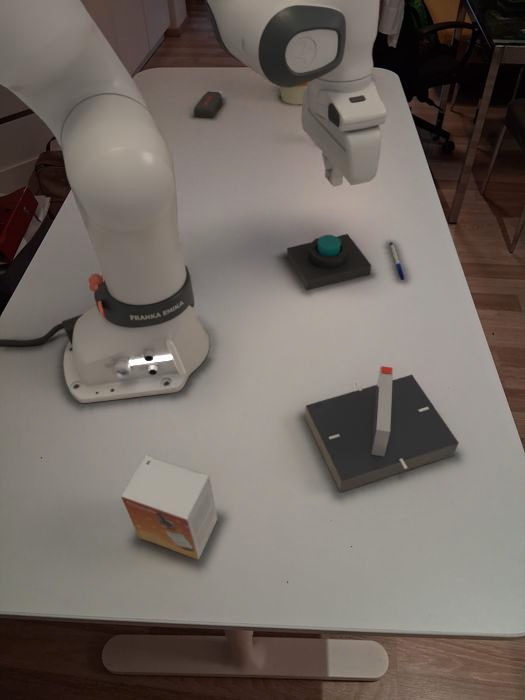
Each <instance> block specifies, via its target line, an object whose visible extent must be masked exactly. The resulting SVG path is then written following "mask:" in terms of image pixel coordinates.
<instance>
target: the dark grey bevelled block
mask: <svg viewBox="0 0 525 700" xmlns="http://www.w3.org/2000/svg"><path fill="white" fill-rule="evenodd" d="M222 105H223V91H219V90H210V91H209V90H208V91H207V92H205V94H203V95H202V97H201V98H200V99H199V100H198V102H197V104H196V105H194V108H193V116H194V117H195V118H208V119H209V118H210V119H214V118H215V116H216V115H217V114H218V112H219V110H220V109H221V107H222Z"/></svg>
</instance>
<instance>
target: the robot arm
mask: <svg viewBox="0 0 525 700" xmlns="http://www.w3.org/2000/svg"><path fill="white" fill-rule="evenodd" d="M203 1H204V4H205V7H206V9H207V12H208V17H209V20H210V24H211V29H212V32H213V34H214V37H215V40H216V42H217V43H218V46H219V47H220V48H221V50H222V51H223V52H224V53H225V54H226V55H228V56H229V58H232V59H234V60H236V61H238V62H239V63H242V64H244V65H245V66H247V68H249V69H250V70H252V72H254V73H256V74H257V75H259V76H260V77H262V78H263V79H265V80H266V81H268V82H269V83H271V84H272V85H275V86H277V87H279V88H280V87H285V88H290V87H296V86H299V85H302V84H304V83H307V86H306V87H305V89H304V93H303V101H302V104H301V117H300V118H301V120H300V121H301V126H302V129H303V131H304V132H305V133H306V135H307V136H308V137H309V138H310V139H311V141H312V142H313V143H314V144H315V145H316V146H317V148H318V149H319V150H320V151H321V157H322V162H323V165H324V177H325V178H326V180H327V181H328V182H329V183H330V185H331V186H332V187H339V186H341V185H343V182H344V179H345V180H346V181H347V182H348V183H349V185H351V186H356V185H361V184H365V183H370V182H372V181H373V180H374V178H375V177H376V176H377V173H378V169H379V163H380V155H381V149H382V148H381V147H382V130H381V127H380V126H381V125H383V124H385V123H386V120H387V108H386V105H385V104H384V103H383V100H382V99H381V97H380V95H379V93H378V90H377V87H376V82H375V81H374V80H373V76H374V60H373V50H372V48H374V43H375V41H376V38H377V35H378V27H379V19H380V18H379V17H380V16H379V15H380V1H381V0H203ZM0 85H1V86H2V87H4V88H7V89H8V90H9V91H10V92H11V93H13V95H15V96H16V97H17V98H18V99H19V100H21V102H23V103H24V104H25V105H26V106H27V107H28V108H29V109H30V110H31V111H32V112H33V113H35V114H36V115H37V116H38V117H39V119H41V120H42V121H43V123H44V124H45V125H46V127H48V129H49V130H50V131H51V133H52V134H53V136H54V137H55V139H56V142H57V143H58V146H59V147H60V149H61V153H62V156H63V157H62V158H63V162H64V168H65V174H66V177H67V181H68V184H69V186H70V189H71V192H72V195H73V198H74V201H75V203H76V206H77V208H78V212H79V214H80V216H81V219H82V222H83V224H84V227H85V229H86V232H87V234H88V236H89V239H90V241H91V243H92V247H93V250H94V253H95V255H96V259H97V262H98V266H99V268H100V271H101V273H102V275H100V274H99V273H93V274H91V275H89V277H88V284H89V289H90V290H91V291H92V293H93V292H94V293H93V297H94V301H95V304H94V305H93V306H92V307H90V308H89V309H88V310H87V311H85V312H84V313H82V314H80V315H76V316H73V317H71V318H68V319H64V320H62V321H61V322H60V323H58V324H56V325H54V326H53V327H52V328H51V329H50V330H49V331H48V332H47V333H46V334H44V335H43V336H41V337H37V338H34V339H25V340H24V339H23V340H21V339H7V338H6V339H5V338H4V339H3V338H2V339H0V346H12V347H31V346H36V345H40V344H44V343H45V342H47V341H49V340H50V339H51V338H52V337H53V336H55V334H57V333H59V331H61V330H63V329H64V332H65V334H66V336H67V338H68V343H67V344H66V347H65V349H64V352H63V353H64V354H63V361H62V362H63V374H64V379H65V383H66V385H67V388H68V390H69V393H70V394H71V396H72V397H73V398H74V399H75V400H76V401H78V402H79V403H81V404H88V403H98V402H107V401H114V400H123V399H132V398H139V397H148V396H157V395H164V394H174V393H178V392H180V391H181V390H183V388H184V387H185V385H186V383H187V381H188V379H189V377H190V376H191V374H193V372H195V371H196V370H197V369H198V368H199V367H200V366H201V365H202V364H203V363H204V360H206V358H207V356H208V354H209V350H210V337H209V334H208V332H207V331H206V329H205V328H204V326H203V324H202V322H201V321H200V318H199V316H198V313H197V309H196V308H195V307H196V306H195V298H196V297H195V289H194V284H193V280H192V276H191V273H190V271H189V268H188V266H187V265H186V263H185V257H184V252H183V245H182V240H181V235H180V230H179V221H178V220H179V219H178V195H177V185H176V184H177V183H176V175H175V167H174V160H173V156H172V152H171V149H170V147H169V145H168V142H167V140H166V138H165V137H164V134H163V132H162V130H161V128H160V125H158V122H157V120H156V118H155V116H154V114H153V112H152V110H151V107H150V106H149V104H148V101H147V100H146V98H145V96H144V94H143V93H142V92H141V90H140V88H139V87H138V85H137V83H136V82H135V80H134V79H133V78H132V76H131V74H130V73H129V71H128V70H127V68H126V67H125V66H124V64H123V62H122V61H121V59H120V58H119V57H118V54H117V53H116V52H115V50H114V49H113V48H112V46H111V44H110V43H109V42H108V40H107V38H106V37H105V35H104V34H103V32H102V31H101V30H100V28H99V26H98V25H97V24H96V22H95V20H94V19H93V18H92V16H91V15H90V13H89V12H88V10H87V9H86V7H85V5H84V3H83V2H82V1H81V0H0Z"/></svg>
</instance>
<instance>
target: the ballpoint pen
mask: <svg viewBox="0 0 525 700" xmlns="http://www.w3.org/2000/svg"><path fill="white" fill-rule="evenodd" d="M389 246H390V250H391V253H392V256H393V259H394V262H395V266H396V269H397V274H398V277H399V279H400V280H402V281H404V280H405V275H404V271H403V269H402V265H401V263H400V260H399V257H398V254H397V251H396V248H395V245H394V243H393V242H390V243H389Z"/></svg>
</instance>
